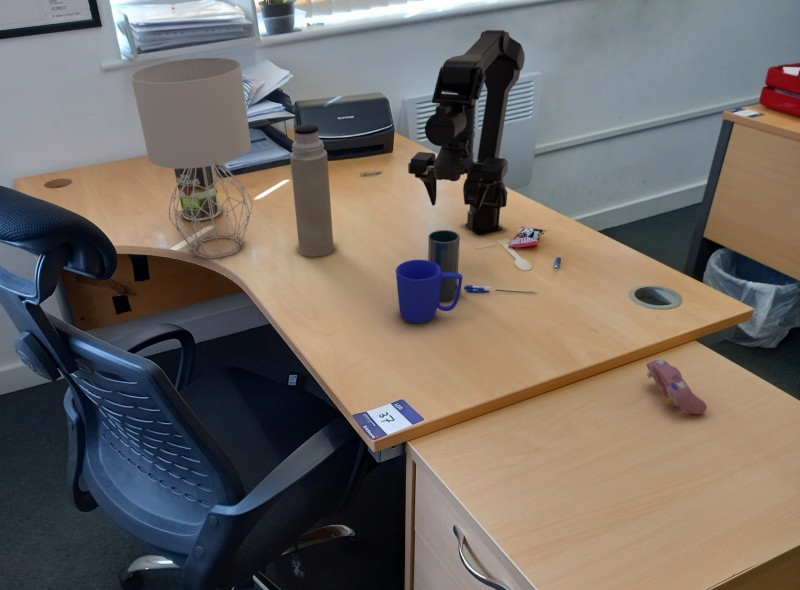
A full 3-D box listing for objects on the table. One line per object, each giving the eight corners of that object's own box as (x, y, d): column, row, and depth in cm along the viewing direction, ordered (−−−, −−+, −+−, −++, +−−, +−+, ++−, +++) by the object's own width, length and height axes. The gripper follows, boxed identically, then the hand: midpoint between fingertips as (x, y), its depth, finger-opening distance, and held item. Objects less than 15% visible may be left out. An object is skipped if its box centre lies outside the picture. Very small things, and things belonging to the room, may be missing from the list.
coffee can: (209, 222, 175) (200, 169, 167) (175, 219, 179) (164, 166, 171) (228, 207, 183) (220, 155, 175) (195, 204, 187) (186, 153, 179)
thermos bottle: (308, 240, 162) (297, 120, 147) (338, 244, 159) (331, 122, 143) (293, 254, 157) (280, 131, 141) (324, 258, 154) (315, 133, 138)
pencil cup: (441, 284, 140) (443, 227, 133) (462, 294, 136) (466, 236, 129) (421, 294, 137) (422, 236, 130) (442, 304, 133) (444, 245, 126)
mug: (459, 329, 126) (462, 281, 120) (393, 326, 128) (393, 279, 122) (460, 307, 132) (463, 260, 127) (398, 304, 135) (398, 258, 129)
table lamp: (187, 278, 150) (148, 89, 128) (158, 243, 167) (119, 70, 144) (279, 252, 158) (257, 68, 135) (242, 220, 175) (218, 53, 152)
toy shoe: (649, 387, 110) (637, 358, 107) (676, 374, 109) (665, 344, 106) (680, 426, 102) (669, 396, 99) (710, 413, 101) (700, 381, 98)
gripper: (398, 139, 129) (398, 217, 137) (497, 146, 121) (491, 228, 130) (417, 122, 137) (417, 197, 146) (511, 128, 129) (504, 206, 138)
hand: (455, 207), depth 140 cm, fingers open, 9 cm apart
